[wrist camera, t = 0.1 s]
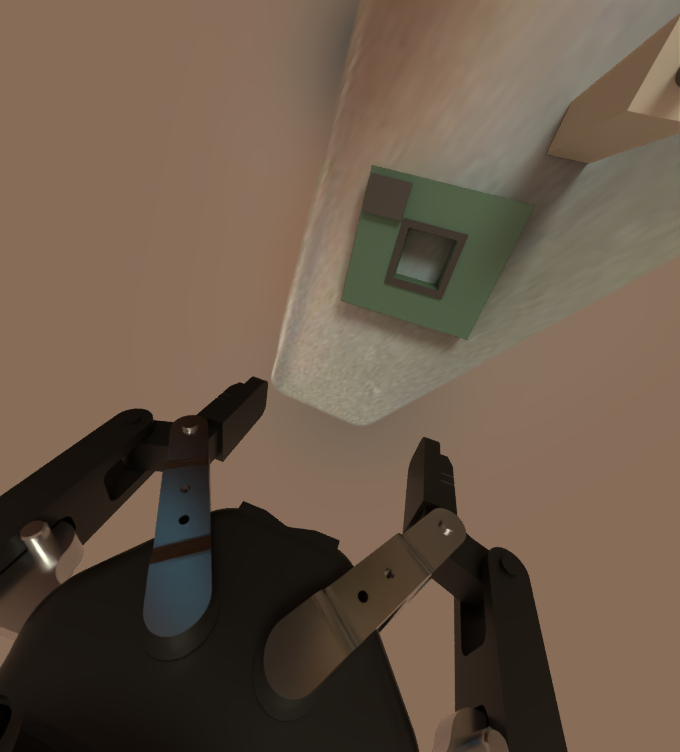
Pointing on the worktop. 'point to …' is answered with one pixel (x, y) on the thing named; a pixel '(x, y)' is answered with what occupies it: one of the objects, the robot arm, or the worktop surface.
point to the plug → (626, 103)
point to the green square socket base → (439, 217)
